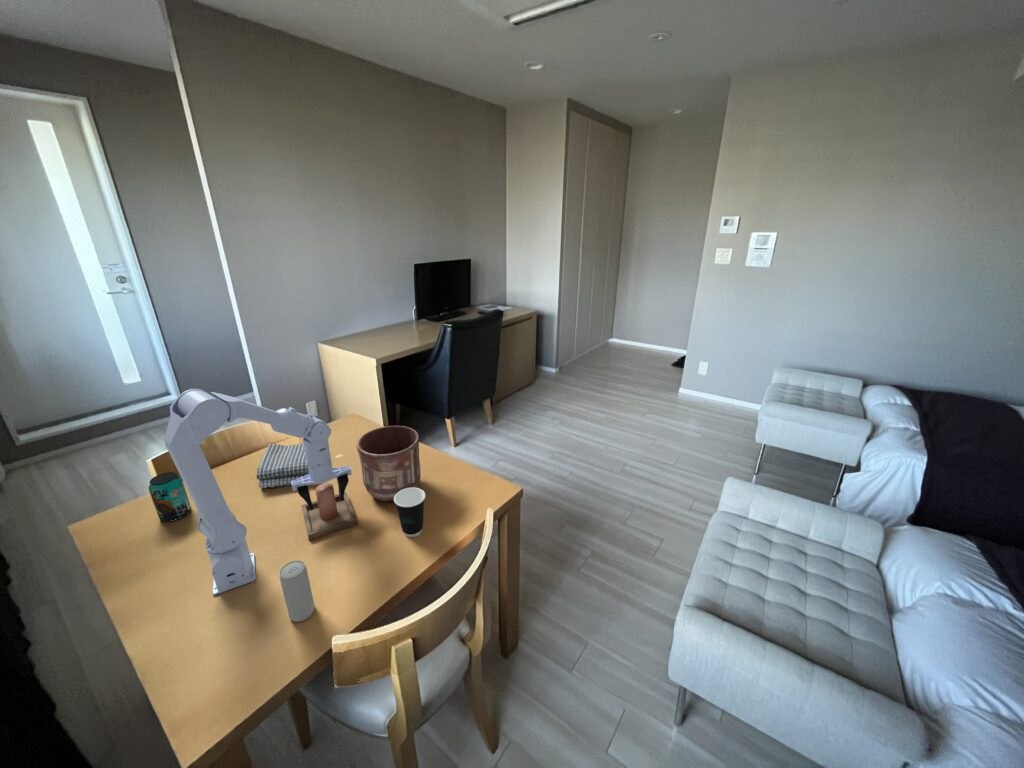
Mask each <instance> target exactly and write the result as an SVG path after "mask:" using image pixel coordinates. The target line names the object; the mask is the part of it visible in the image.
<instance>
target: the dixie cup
mask: <svg viewBox="0 0 1024 768" xmlns="http://www.w3.org/2000/svg"><path fill="white" fill-rule="evenodd" d="M425 499H426V492H425V491H424V490H423V489H421V488H419V487H416V488H406V489H403V490H401V491H399V492H398V493H397V494H396V495H395V497H394V501H393V502H394V504H395V506H396V510H397V515H398V518H399V523H400V527H401V531H402V532H403V534H404V536H406V537H408V538H414V537H417V536H419V535H420V534H422V531H423V527H424V511H425V510H424V509H425Z"/></svg>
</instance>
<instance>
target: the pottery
mask: <svg viewBox="0 0 1024 768" xmlns="http://www.w3.org/2000/svg"><path fill="white" fill-rule="evenodd" d="M419 438H420V437H419V433H418V432H417V431H416V430H415V429H413V427H412V428H411V427H408V426H406V425H386V426H382V427H378V428H375V429H372V430H370V431H367V432H366V433H364V434H363V435H362V436H361V437H360V438H359V439H358V440H357V443H356V450H357V453H358V456H359V461H360V465H361V474H362V481H363V485H364V487H365V489H366V491H367V493H368V494H369V495H370V496H371V497H373V498H375V499H376V500H377V501H381V502H387V503H390V502H391V501H392V502H394V497H395V495H396V494H397V493H398V492H399V491H401V490H403V489H406V488H418V485H419V483H420V481H421V464H420V463H421V461H420V439H419Z"/></svg>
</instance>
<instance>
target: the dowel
mask: <svg viewBox="0 0 1024 768" xmlns="http://www.w3.org/2000/svg"><path fill="white" fill-rule="evenodd" d="M314 491H315V494H316V501H318V507H319V512H320V518H321V519H322V520H324V521H328V520H332V519H334V518H335V517H336V516H337V515H338V512H337V506H336V500H335V495H336V494H335V489H334V485H333V484H332V483H328V482H325V483H321V484H318V486H317V487H315V490H314Z"/></svg>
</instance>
